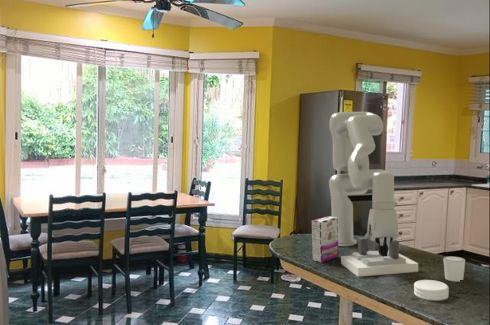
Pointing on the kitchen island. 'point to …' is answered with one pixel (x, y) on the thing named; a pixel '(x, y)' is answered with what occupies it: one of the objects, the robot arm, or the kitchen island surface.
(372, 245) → the light bulb
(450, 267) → the light grey cup
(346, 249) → the kitchen island surface
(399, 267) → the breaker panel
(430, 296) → the white ribbed round piece
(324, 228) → the candy bar box
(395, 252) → the handle
